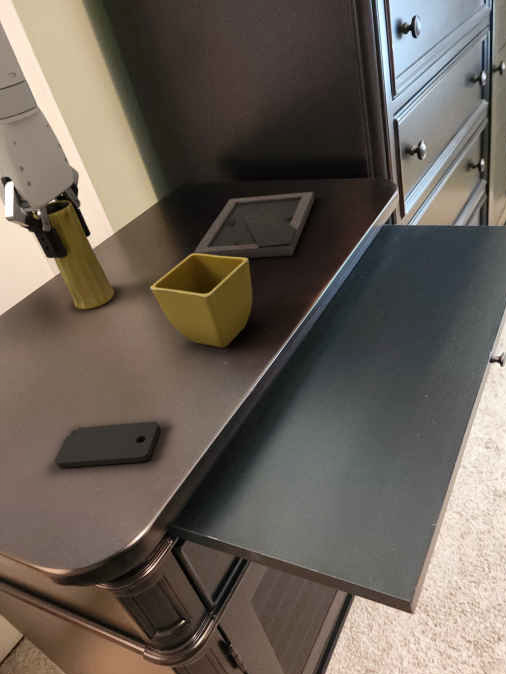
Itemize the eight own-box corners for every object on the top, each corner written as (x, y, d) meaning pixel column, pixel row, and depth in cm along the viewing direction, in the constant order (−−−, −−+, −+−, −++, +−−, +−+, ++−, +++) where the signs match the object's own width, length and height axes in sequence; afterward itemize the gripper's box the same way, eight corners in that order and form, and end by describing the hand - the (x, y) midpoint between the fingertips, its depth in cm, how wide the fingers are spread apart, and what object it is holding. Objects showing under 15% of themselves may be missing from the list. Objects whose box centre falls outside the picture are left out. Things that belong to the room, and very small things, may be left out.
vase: (122, 292, 80) (83, 200, 71) (92, 313, 77) (46, 219, 67) (97, 286, 83) (55, 197, 74) (67, 306, 80) (19, 215, 70)
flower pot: (172, 349, 66) (147, 286, 60) (211, 312, 72) (191, 251, 66) (228, 361, 62) (208, 296, 56) (265, 321, 68) (250, 257, 62)
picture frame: (292, 255, 80) (314, 200, 95) (290, 243, 79) (312, 189, 94) (196, 261, 84) (231, 207, 99) (192, 249, 83) (229, 196, 98)
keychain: (70, 428, 56) (158, 420, 55) (73, 432, 57) (161, 425, 55) (52, 463, 53) (146, 456, 51) (55, 468, 53) (148, 461, 52)
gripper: (20, 90, 69) (79, 221, 81) (-75, 130, 57) (11, 277, 69) (67, 83, 67) (121, 219, 79) (-21, 123, 55) (58, 276, 67)
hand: (69, 245), depth 74 cm, fingers closed on vase, 5 cm apart
